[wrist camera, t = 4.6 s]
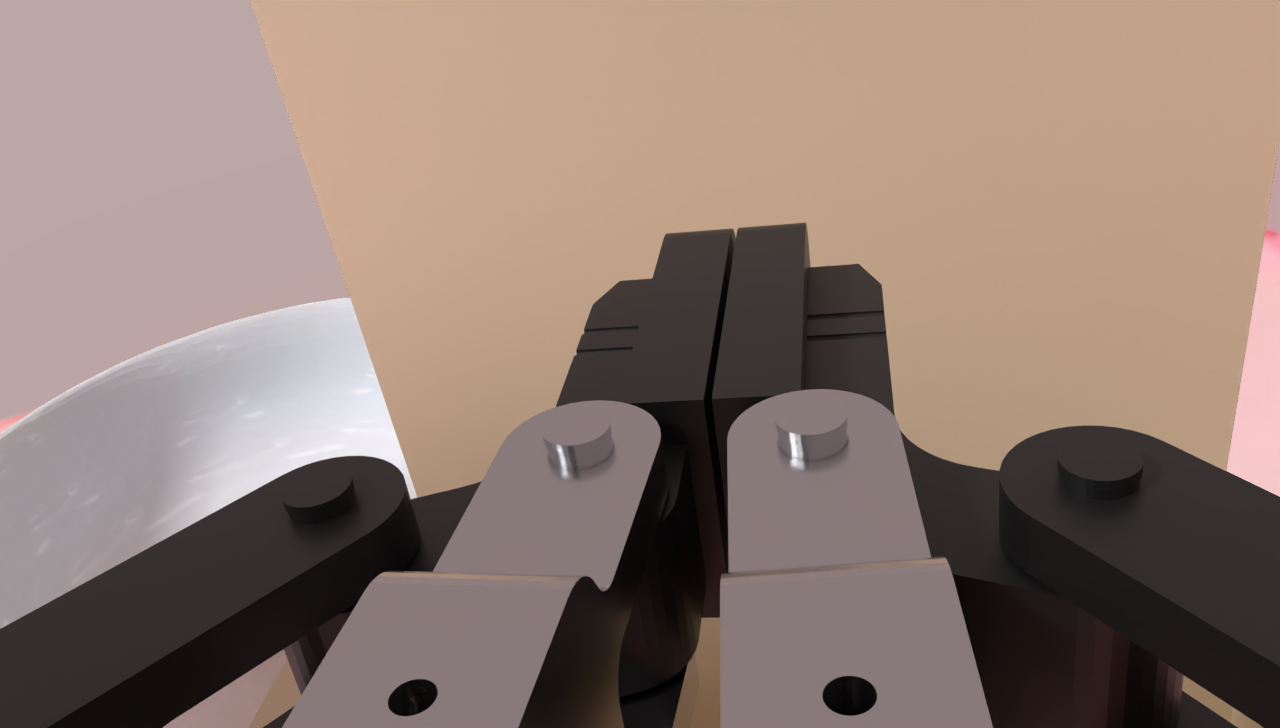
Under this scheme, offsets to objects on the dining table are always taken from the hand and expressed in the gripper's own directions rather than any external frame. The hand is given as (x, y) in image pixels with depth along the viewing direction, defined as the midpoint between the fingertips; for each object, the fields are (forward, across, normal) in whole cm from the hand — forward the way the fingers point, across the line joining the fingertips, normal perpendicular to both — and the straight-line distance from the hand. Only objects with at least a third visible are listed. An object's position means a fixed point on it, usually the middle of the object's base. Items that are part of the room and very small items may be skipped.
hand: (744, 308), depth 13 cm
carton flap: (+5, 0, +2) cm, 6 cm away
